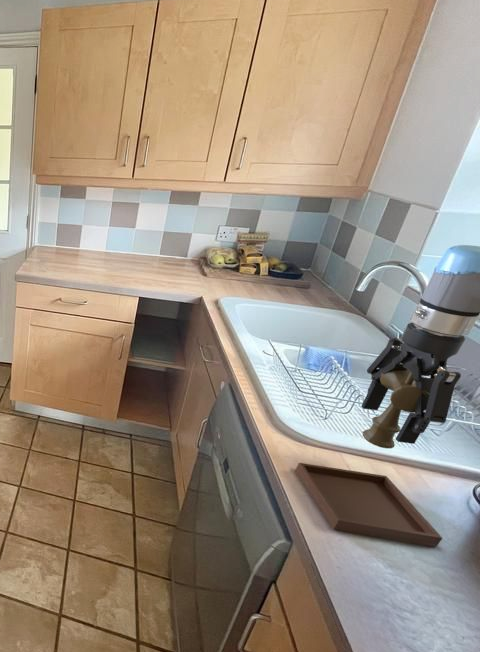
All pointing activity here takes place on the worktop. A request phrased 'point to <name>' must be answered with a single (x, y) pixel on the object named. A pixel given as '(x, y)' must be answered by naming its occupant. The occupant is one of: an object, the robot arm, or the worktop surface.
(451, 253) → the robot arm
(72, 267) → the worktop surface
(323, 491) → the tray
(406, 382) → the kendama
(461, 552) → the worktop surface
